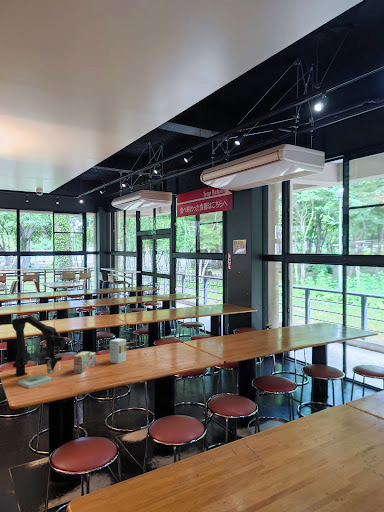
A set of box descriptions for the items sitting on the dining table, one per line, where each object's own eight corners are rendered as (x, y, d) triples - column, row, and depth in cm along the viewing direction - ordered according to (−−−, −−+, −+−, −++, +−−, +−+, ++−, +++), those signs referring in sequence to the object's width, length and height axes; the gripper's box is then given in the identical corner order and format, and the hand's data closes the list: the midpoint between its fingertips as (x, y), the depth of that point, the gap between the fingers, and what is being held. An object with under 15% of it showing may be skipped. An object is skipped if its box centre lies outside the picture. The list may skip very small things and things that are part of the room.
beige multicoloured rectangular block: (88, 364, 265) (88, 347, 265) (96, 364, 264) (96, 348, 264) (73, 373, 244) (73, 355, 244) (81, 373, 243) (81, 356, 243)
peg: (46, 372, 237) (45, 360, 237) (51, 370, 240) (51, 359, 241) (49, 373, 235) (49, 361, 235) (55, 372, 238) (55, 360, 238)
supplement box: (118, 363, 264) (118, 341, 264) (109, 362, 269) (109, 340, 269) (126, 360, 272) (126, 339, 273) (117, 358, 277) (117, 337, 277)
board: (17, 383, 224) (17, 380, 224) (41, 376, 237) (41, 373, 237) (29, 388, 216) (29, 385, 216) (52, 380, 229) (52, 377, 229)
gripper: (31, 347, 237) (32, 369, 237) (46, 351, 226) (47, 375, 226) (46, 343, 246) (47, 365, 246) (62, 347, 235) (62, 370, 234)
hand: (50, 369), depth 238 cm, fingers closed on peg, 4 cm apart
